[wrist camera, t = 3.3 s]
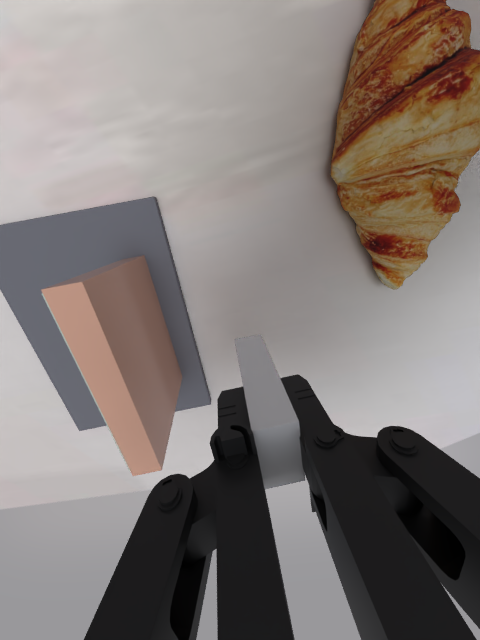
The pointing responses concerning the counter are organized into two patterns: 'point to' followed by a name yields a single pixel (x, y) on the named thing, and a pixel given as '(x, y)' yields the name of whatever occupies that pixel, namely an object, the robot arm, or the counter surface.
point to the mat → (81, 257)
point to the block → (122, 355)
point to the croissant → (406, 129)
